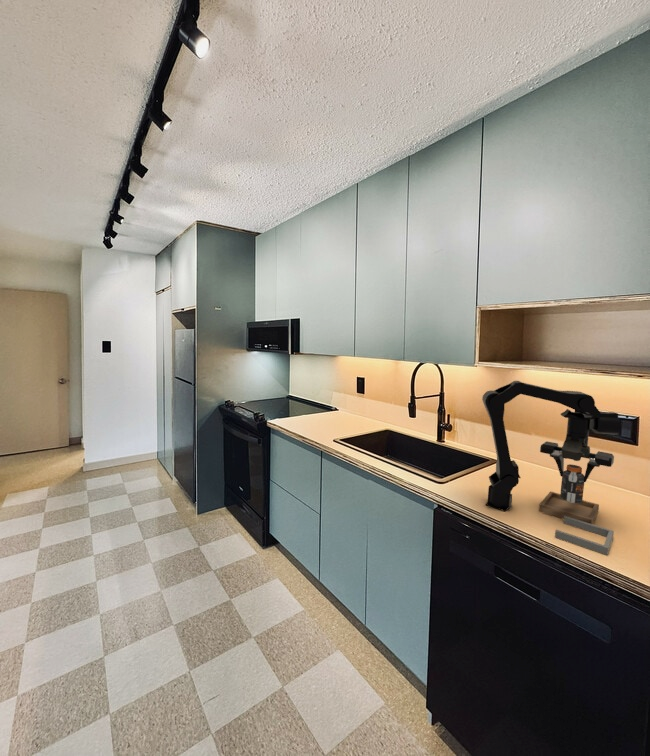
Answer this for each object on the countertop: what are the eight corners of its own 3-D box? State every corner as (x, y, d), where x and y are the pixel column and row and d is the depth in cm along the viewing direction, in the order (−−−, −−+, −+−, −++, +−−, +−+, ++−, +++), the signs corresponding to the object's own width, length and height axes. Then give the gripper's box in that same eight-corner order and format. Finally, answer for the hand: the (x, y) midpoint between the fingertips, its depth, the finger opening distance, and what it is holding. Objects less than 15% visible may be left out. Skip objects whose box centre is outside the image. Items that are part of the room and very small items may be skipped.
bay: (554, 537, 103) (555, 530, 103) (564, 522, 112) (564, 515, 111) (607, 555, 95) (608, 548, 95) (613, 537, 103) (613, 530, 103)
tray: (538, 511, 118) (539, 504, 118) (549, 498, 128) (550, 491, 128) (590, 527, 109) (591, 519, 108) (598, 511, 118) (599, 504, 118)
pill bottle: (577, 505, 112) (581, 471, 111) (556, 498, 117) (559, 465, 115) (585, 500, 115) (588, 467, 114) (564, 494, 120) (567, 461, 119)
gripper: (537, 430, 114) (533, 477, 116) (611, 443, 101) (605, 496, 103) (546, 424, 122) (543, 468, 124) (616, 436, 109) (611, 485, 111)
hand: (573, 478), depth 115 cm, fingers closed on pill bottle, 6 cm apart
